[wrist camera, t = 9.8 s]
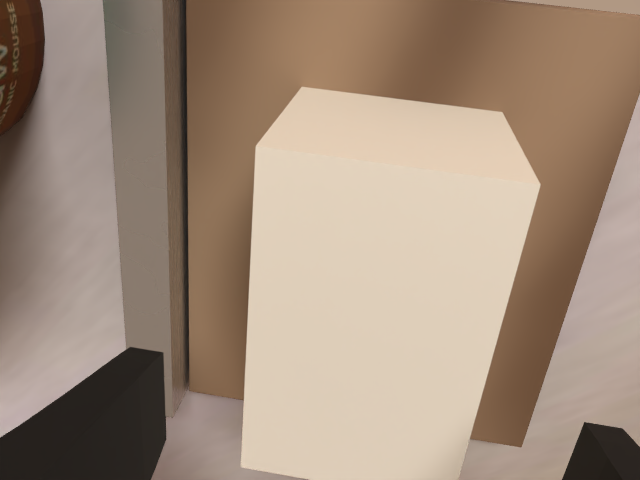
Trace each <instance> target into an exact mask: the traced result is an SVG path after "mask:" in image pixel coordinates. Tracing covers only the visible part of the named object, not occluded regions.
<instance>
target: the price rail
mask: <svg viewBox="0 0 640 480" xmlns="http://www.w3.org/2000/svg"><path fill="white" fill-rule="evenodd" d="M103 8H104V23H105V38H106V53H107V68H108V83H109V98H110V113H111V128H112V143H113V157H114V172H115V187H116V202H117V217H118V232H119V247H120V262H121V277H122V291H123V306H124V321H125V336H126V349H128V348H129V347H134V348H140V349H146V350H152V351H159V352H163V353H164V384H165V415H166V416H167V417H172V418H173V416H174V414H175V412H176V410H177V409H178V407H179V405H180V403H181V401H182V399H183V397H184V395H185V393H186V391H187V389H188V387H189V266H188V146H187V25H186V0H103Z"/></svg>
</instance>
